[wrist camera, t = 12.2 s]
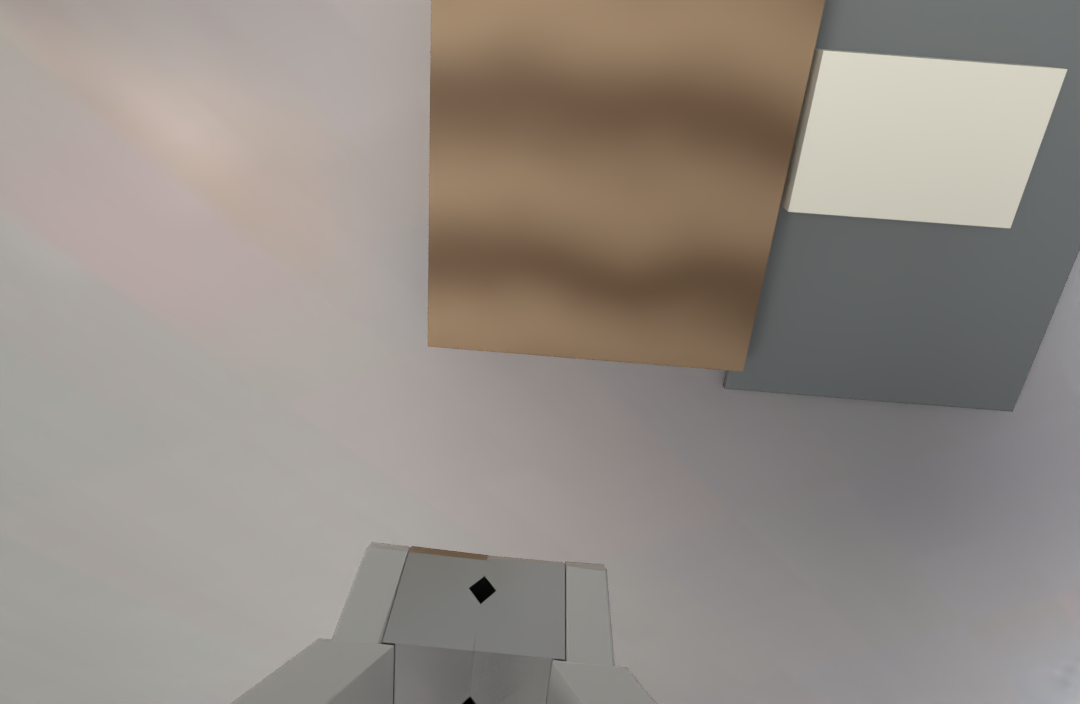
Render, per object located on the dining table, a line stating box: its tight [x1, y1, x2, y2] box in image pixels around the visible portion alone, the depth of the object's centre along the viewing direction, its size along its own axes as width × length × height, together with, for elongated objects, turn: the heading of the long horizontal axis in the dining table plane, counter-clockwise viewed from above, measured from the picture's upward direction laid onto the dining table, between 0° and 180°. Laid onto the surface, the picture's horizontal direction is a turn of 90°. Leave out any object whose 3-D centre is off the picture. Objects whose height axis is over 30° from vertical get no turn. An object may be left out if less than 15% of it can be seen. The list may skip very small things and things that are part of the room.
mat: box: [723, 0, 1080, 411], centre depth 30 cm, size 24×14×1 cm, turn 176°
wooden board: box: [428, 0, 825, 372], centre depth 29 cm, size 20×14×2 cm
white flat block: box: [780, 48, 1067, 228], centre depth 29 cm, size 6×9×2 cm, turn 86°
